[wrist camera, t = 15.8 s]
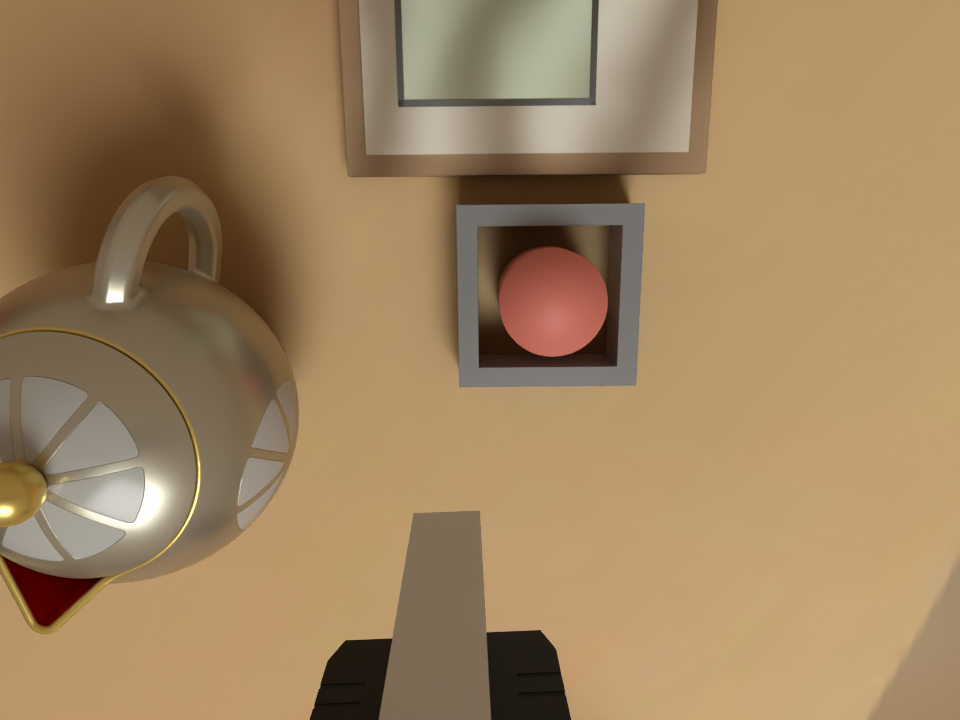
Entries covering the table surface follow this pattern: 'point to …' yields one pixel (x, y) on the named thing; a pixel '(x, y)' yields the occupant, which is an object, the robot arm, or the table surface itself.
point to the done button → (551, 300)
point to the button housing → (621, 309)
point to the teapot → (134, 412)
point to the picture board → (526, 86)
